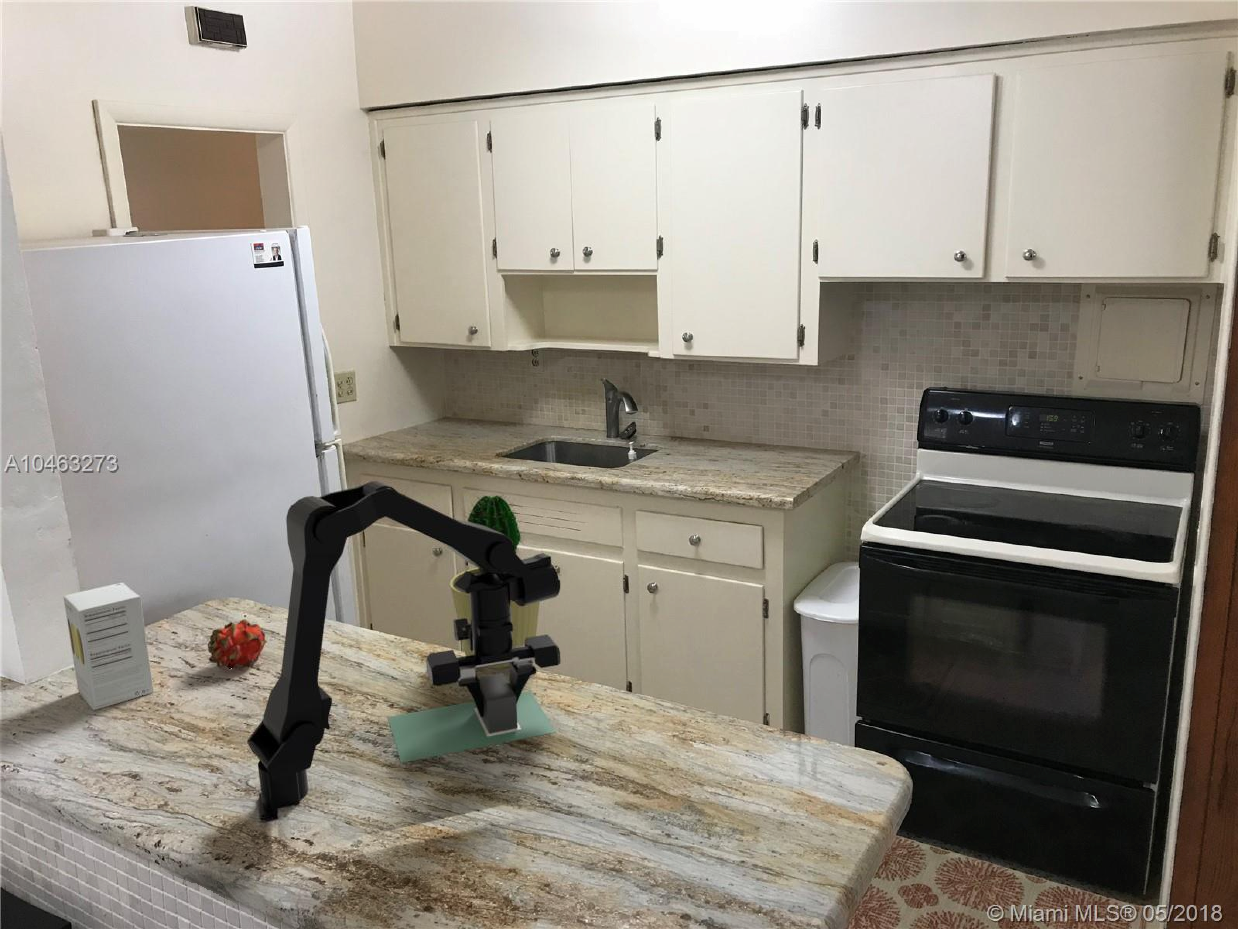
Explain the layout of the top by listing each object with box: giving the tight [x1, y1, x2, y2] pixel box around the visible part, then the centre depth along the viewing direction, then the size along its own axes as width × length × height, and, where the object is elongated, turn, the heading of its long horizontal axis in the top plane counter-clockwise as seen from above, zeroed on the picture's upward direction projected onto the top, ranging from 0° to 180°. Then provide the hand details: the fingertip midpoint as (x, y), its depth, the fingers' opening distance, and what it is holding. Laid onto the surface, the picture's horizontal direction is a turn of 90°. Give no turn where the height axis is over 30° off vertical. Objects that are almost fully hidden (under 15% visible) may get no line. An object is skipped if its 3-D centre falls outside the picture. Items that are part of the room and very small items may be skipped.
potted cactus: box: [449, 494, 540, 669], centre depth 164 cm, size 15×15×30 cm
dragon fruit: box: [207, 619, 268, 670], centre depth 168 cm, size 8×8×12 cm
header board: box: [387, 690, 557, 764], centre depth 142 cm, size 14×22×4 cm, turn 110°
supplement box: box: [63, 582, 154, 711], centre depth 157 cm, size 10×9×17 cm
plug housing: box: [477, 672, 518, 733], centre depth 144 cm, size 11×4×5 cm, turn 20°
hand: (496, 713), depth 143 cm, fingers closed on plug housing, 4 cm apart
